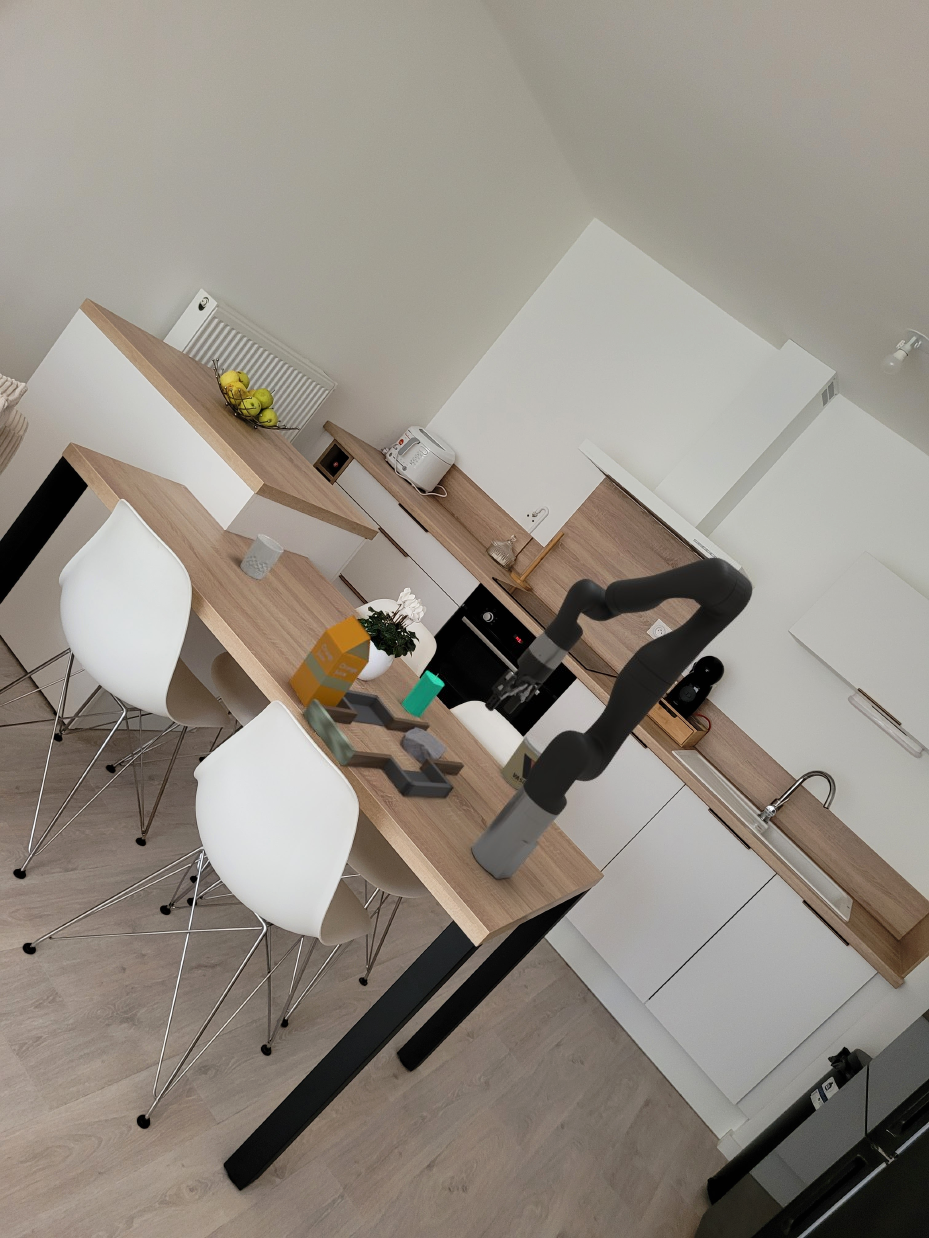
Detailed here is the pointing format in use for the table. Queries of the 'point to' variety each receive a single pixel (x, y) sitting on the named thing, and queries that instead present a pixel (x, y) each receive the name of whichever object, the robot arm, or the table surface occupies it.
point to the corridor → (344, 751)
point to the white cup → (261, 556)
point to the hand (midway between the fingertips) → (497, 709)
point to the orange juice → (333, 664)
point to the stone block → (422, 745)
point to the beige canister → (522, 761)
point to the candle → (422, 694)
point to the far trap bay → (366, 708)
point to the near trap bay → (418, 780)
